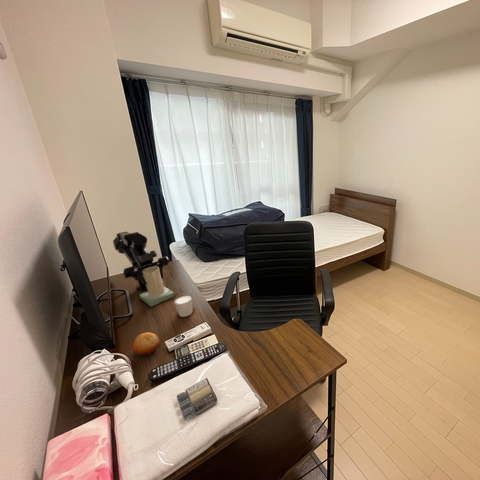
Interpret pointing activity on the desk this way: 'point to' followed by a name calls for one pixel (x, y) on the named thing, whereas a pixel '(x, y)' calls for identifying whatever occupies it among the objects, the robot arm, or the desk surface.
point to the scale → (157, 297)
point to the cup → (153, 281)
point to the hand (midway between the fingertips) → (154, 281)
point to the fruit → (145, 343)
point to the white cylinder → (184, 306)
